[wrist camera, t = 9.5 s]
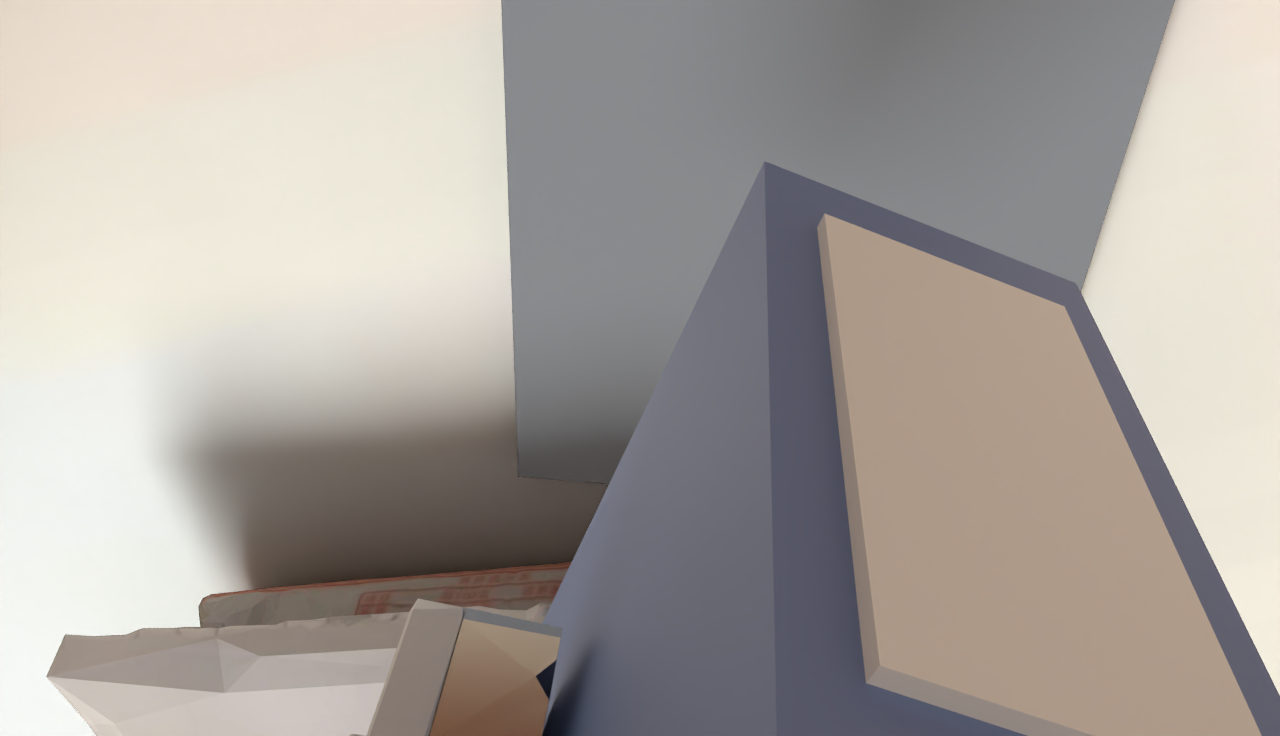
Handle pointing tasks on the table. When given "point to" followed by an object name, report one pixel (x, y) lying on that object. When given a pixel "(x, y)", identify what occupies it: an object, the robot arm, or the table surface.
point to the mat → (779, 160)
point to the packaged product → (276, 655)
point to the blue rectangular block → (893, 511)
